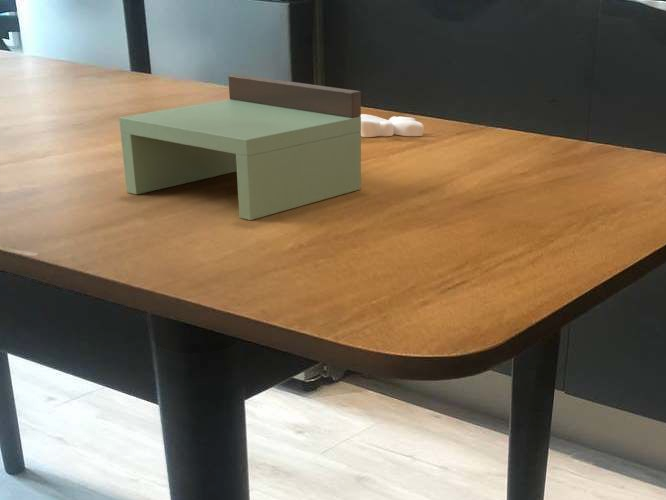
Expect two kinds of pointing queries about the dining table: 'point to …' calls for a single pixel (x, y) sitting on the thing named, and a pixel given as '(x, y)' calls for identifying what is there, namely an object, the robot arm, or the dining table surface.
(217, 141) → the desk
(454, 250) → the dining table surface
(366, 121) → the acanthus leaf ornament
